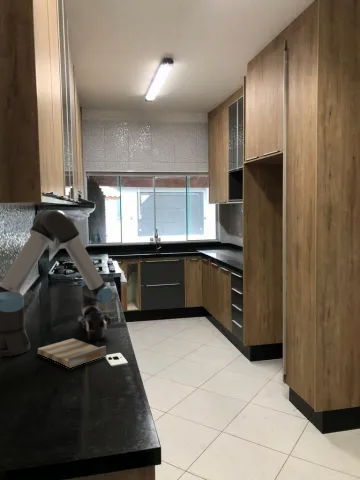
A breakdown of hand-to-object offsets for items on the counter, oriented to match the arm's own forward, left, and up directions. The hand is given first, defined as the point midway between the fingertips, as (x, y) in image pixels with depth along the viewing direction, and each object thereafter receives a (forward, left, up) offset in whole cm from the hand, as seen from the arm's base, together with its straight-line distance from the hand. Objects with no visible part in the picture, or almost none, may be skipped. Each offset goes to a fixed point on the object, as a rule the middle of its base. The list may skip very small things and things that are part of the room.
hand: (96, 327), depth 163 cm
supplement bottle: (-4, +2, -7) cm, 8 cm away
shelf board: (+3, -15, -7) cm, 17 cm away
